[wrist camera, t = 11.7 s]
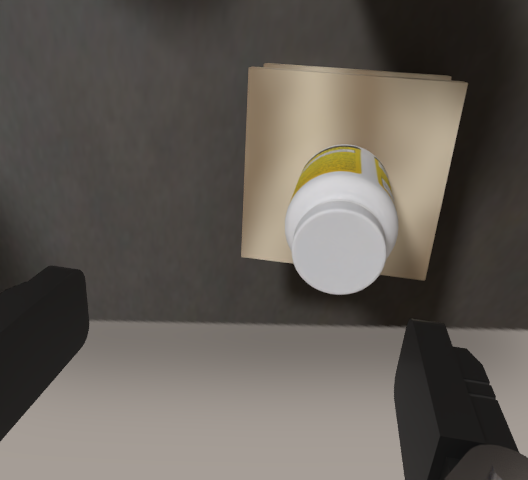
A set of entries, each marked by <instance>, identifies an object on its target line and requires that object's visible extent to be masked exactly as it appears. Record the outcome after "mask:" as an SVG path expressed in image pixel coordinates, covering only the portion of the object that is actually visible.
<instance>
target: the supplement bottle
mask: <svg viewBox="0 0 528 480" xmlns="http://www.w3.org/2000/svg"><path fill="white" fill-rule="evenodd" d="M285 235H286V239H287V243H288V245H289V248H290V250H291V252H292V259H293V263H294V266H295V268H296V270H297V272H298V273H299V275H300V276H301V277H302V278H303V280H304V281H306V282H307V283H308V284H309V285H310V286H312V287H314V288H315V289H317V290H319V291H322V292H325V293H329V294H336V295H345V294H351V293H355V292H358V291H360V290H363V289H364V288H366V287H368V286H369V285H370V284H372V283H373V282H374V281H375V280H376V279H377V278H378V276H379V275H380V273H381V272H382V270H383V267H384V265H385V262H386V259H387V258H388V256H389V255H390V253H391V251H392V250H393V248H394V246H395V243H396V240H397V236H398V216H397V211H396V207H395V203H394V198H393V195H392V190H391V186H390V182H389V178H388V175H387V172H386V170H385V168H384V166H383V165H382V163H381V162H380V161H379V159H378V158H377V157H376V156H375V155H373V154H372V153H371V152H369V151H368V150H366V149H364V148H361V147H358V146H355V145H348V144H341V145H334V146H330V147H328V148H325V149H323V150H321V151H320V152H318V153H317V154H315V155H314V156H313V157H312V158H311V159H310V160H309V161H308V162H307V164H306V165H305V167H304V169H303V170H302V173H301V175H300V177H299V180H298V182H297V185H296V188H295V190H294V193H293V196H292V198H291V201H290V203H289V206H288V209H287V212H286V217H285Z"/></svg>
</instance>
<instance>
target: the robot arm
mask: <svg viewBox="0 0 528 480" xmlns="http://www.w3.org/2000/svg"><path fill="white" fill-rule="evenodd" d="M88 331H89V315H88V304H87V294H86V283H85V276H84V274H83V272H82V271H81V270H78V269H71V268H64V267H58V266H48V267H47V268H45V269H44V270H42V271H41V272H40V273H38V274H37V275H36V276H35V277H33V278H32V279H31V280H29V281H28V282H24V283H22V284H19V285H17V286H14V287H12V288H10V289H7V290H5V291H3V292H2V293H1V294H0V441H1V440H2V439H3V438H4V436H5V435H6V434H7V433H8V432H9V431H10V429H11V428H12V427H13V426H14V425H15V424H16V423H17V422H18V420H19V419H20V418H21V417H22V416H23V415H24V413H25V412H26V411H27V410H28V409H29V408H30V406H31V405H32V404H33V403H34V402H35V400H37V398H38V397H39V396H40V395H41V394H42V393H43V391H44V390H45V389H46V388H47V387H48V386H49V385H50V383H51V382H52V381H53V380H54V379H55V378H56V376H57V375H58V374H59V373H60V372H61V371H62V369H63V368H64V367H65V366H66V365H67V364H68V363H69V361H70V360H71V359H72V358H73V357H74V355H75V354H76V353H77V352H78V351H79V350H80V349H81V347H82V346H83V344H84V343H85V340H86V338H87V334H88ZM489 383H490V382H489V379H488V377H487V375H486V372H485V370H484V368H483V365H482V364H481V363H480V362H479V361H478V360H477V359H476V358H475V357H474V356H473V355H472V354H471V353H470V352H469V351H468V350H467V349H465V348H459V347H453V346H452V344H451V341H450V338H449V335H448V332H447V329H446V326H445V324H444V323H439V322H432V321H425V320H418V319H409V321H408V323H407V327H406V331H405V335H404V340H403V344H402V348H401V353H400V357H399V362H398V366H397V371H396V376H395V384H394V401H395V408H396V416H397V423H398V431H399V438H400V446H401V453H402V461H403V468H404V476H405V480H528V458H527V457H526V456H524V455H522V454H520V453H519V451H518V449H517V446H516V444H515V441H514V439H513V437H512V434H511V432H510V429H509V427H508V425H507V422H506V420H505V418H504V415H503V413H502V410H501V408H500V406H499V403H498V401H497V400H495V397H496V396H495V394H494V391H493V389H492V387H491V385H489Z"/></svg>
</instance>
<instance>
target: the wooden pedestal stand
mask: <svg viewBox="0 0 528 480" xmlns="http://www.w3.org/2000/svg"><path fill="white" fill-rule="evenodd" d="M467 86H468V83H466V82H464V81H451V76H448V75H433V74H419V73H404V72H389V71H375V70H360V69H346V68H331V67H317V66H302V65H287V64H273V63H265V64H264V67H250V68H249V74H248V99H247V124H246V150H245V175H244V200H243V226H242V251H241V257H247V258H254V259H262V260H270V261H277V262H285V263H293V259H292V252H291V250H290V248H289V245H288V243H287V239H286V235H285V217H286V212H287V209H288V206H289V203H290V201H291V198H292V196H293V193H294V190H295V188H296V185H297V182H298V180H299V177H300V175H301V173H302V170H303V169H304V167H305V165H306V164H307V162H308V161H309V160H310V159H311V158H312V157H313V156H314V155H315V154H317V153H318V152H320V151H321V150H323V149H325V148H328V147H330V146H334V145H341V144H348V145H355V146H358V147H361V148H364V149H366V150H368V151H369V152H371V153H372V154H373V155H375V156H376V157H377V158H378V159H379V161H380V162H381V163H382V165H383V166H384V168H385V170H386V172H387V175H388V178H389V182H390V186H391V190H392V195H393V198H394V203H395V207H396V211H397V216H398V236H397V240H396V243H395V246H394V248H393V250H392V251H391V253H390V255H389V256H388V258H387V259H386V262H385V265H384V267H383V270H382V272H381V273H380V275H386V276H393V277H401V278H409V279H416V280H424V281H425V278H426V274H427V269H428V264H429V260H430V255H431V251H432V246H433V241H434V237H435V232H436V228H437V223H438V219H439V214H440V209H441V205H442V200H443V196H444V191H445V186H446V182H447V177H448V173H449V168H450V164H451V159H452V154H453V150H454V145H455V141H456V136H457V132H458V127H459V122H460V118H461V113H462V109H463V104H464V99H465V95H466V90H467ZM293 264H294V263H293Z"/></svg>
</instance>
